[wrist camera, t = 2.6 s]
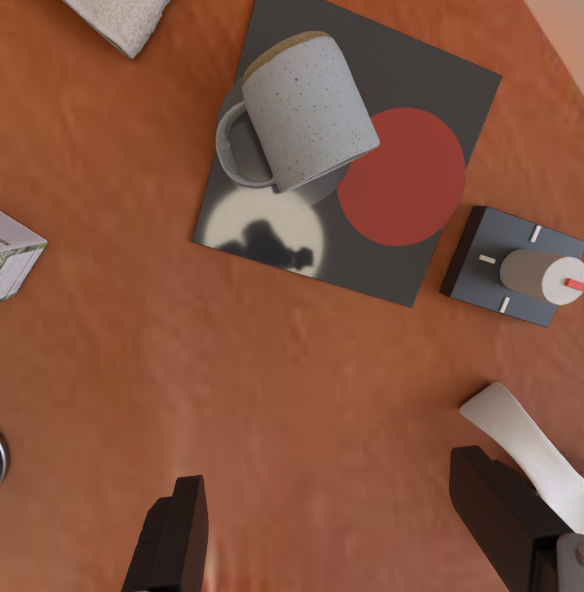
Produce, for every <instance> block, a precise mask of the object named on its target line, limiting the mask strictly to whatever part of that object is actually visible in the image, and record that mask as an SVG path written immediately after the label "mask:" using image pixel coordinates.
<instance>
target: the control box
mask: <svg viewBox="0 0 584 592" xmlns="http://www.w3.org/2000/svg"><path fill="white" fill-rule="evenodd" d="M519 249H528V250H534V251H540V252H546V253H552V254H558V255H564V256H570V257H574V258H577V259H579V260H580V258H581V256H582V253H583V251H584V241H583V240H580V239H577V238H574V237H572V236H569V235H566V234H563V233H561V232H558V231H555V230H552V229H549V228H547V227H544V226H541V225H538V224H535V223H533V222H530V221H527V220H524V219H522V218H519V217H516V216H513V215H510V214H508V213H505V212H502V211H499V210H496V209H494V208H491V207H488V206H474V207H473V209H472V212H471V214H470V217H469V219H468V222H467V224H466V227H465V229H464V232H463V234H462V237H461V239H460V242H459V244H458V247H457V249H456V252H455V254H454V257H453V259H452V262H451V264H450V267H449V269H448V272H447V274H446V277H445V279H444V282H443V284H442V287H441V289H440V293H442V294H444V295H446V296H448V297H450V298H453V299H456V300H460V301H463V302H466V303H469V304H473V305H476V306H479V307H482V308H485V309H489V310H492V311H495V312H498V313H502V314H505V315H508V316H511V317H515V318H518V319H521V320H524V321H527V322H531V323H534V324H537V325H540V326H544V327H547V328H548V326H549V324H550V322H551V320H552V318H553V316H554V314H555V311H556V309H557V307H558V305H556V304H552V303H549V302H546V301H543V300H540V299H537V298H534V297H531V296H528V295H525V294H522V293H519V292H516V291H513V290H510V289H508V288H507V287H506V286H505V285H504V284H503V283H502V281H501V278H500V268H501V265H502V262H503V261H504V259H505V258H506V257H507V256H508V255H509V254H510V253H512V252H513V251H516V250H519Z"/></svg>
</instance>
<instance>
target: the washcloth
mask: <svg viewBox="0 0 584 592" xmlns="http://www.w3.org/2000/svg"><path fill="white" fill-rule="evenodd" d="M62 1H63V2H64V3H66V4H67V5H68V6H69V7H70V8H71V9H73V10H74V11H75V12H76V13H77V14H78V15H79V16H80V17H82V18H83V19H84V21H86V22H87V23H88V24H89V25H90V26H91V27H92V28H94V29H95V30H96V31H97V32H98V33H99V34H100V35H101V36H103V37H104V38H105V39H106V40H107V41H108V42H109V43H110V44H111V45H113V46H114V47H115V48H116V49H118V50H119V51H120V52H121V53H123V54H124V55H125V56H126V57H128V58H129V59H133V58H134V57H135V56H136V55H137V53H139V52H140V51H141V49H142V48H143V46H144V44H145V43H146V42H147V41H148V38H149V37H150V35H151V33H153V32H154V30H155V28H156V26H157V23H158V22H159V20H160V17H162V11H163V10H164V8H165V6H166V5H167V4H168V3H169V2H170V1H171V0H62Z"/></svg>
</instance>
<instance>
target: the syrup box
mask: <svg viewBox="0 0 584 592" xmlns="http://www.w3.org/2000/svg"><path fill="white" fill-rule="evenodd" d="M47 244H48V241H47V240H45V239H44V238H42V237H41V236H39V235H37V234H36V233H34V232H33V231H31V230H30V229H28V228H27V227H25V226H23V225H22V224H20V223H19V222H17V221H15V220H14V219H12V218H11V217H9V216H7V215H6V214H4V213H2V212H1V211H0V302H1V301H4V300H6V299H9V298H11V297H13V296H15V295H16V293H17V292H18V290H19V288H20V287H21V285H22V283H23V282H24V280H25V279H26V277H27V275H28V274H29V272H30V270H31V269H32V267H33V266H34V264H35V263H36V261H37V259H38V258H39V256H40V255H41V253H42V252H43V250H44V249H45V247H46V245H47Z"/></svg>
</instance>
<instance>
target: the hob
mask: <svg viewBox="0 0 584 592" xmlns="http://www.w3.org/2000/svg"><path fill="white" fill-rule="evenodd" d="M307 31H322V32H325V33H328V34H329V35H330V36H331V37H332V38H333V39H334V41H335V42H336V44H337V45H338V47H339V49H340V50H341V52H342V54H343V56H344V58H345V60H346V62H347V65H348V67H349V70H350V72H351V75H352V77H353V80H354V82H355V85H356V87H357V89H358V91H359V93H360V96H361V98H362V100H363V103H364V105H365V108H366V110H367V112H368V115H369V117H370V119H371V122H372V124H373V126H374V129H375V131H376V133H377V136H378V138H379V140H380V145H379V146H378V147H377V148H375V149H374V150H372V151H370V152H369V153H367V154H365V155H363V156H361V157H360V158H357V159H355V160H353V161H351V162H349V163H347V164H345V165H343V166H341V167H339V168H337V169H335V170H333V171H331V172H329V173H327V174H325V175H323V176H321V177H318V178H316V179H313V180H311V181H309V182H307V183H306V184H303V185H301V186H298V187H296V188H294V189H291V190H289V191H286V192H280V191H279V189H278V186H277V184H276V183H275V184H272V185H268V186H263V187H249V186H245V185H242V184H239V183H237V182H235V181H234V180H232V179H231V178H230V177H229V176H228V175H227V174H226V172H225V171H224V169H223V167H222V166H221V163H220V161H219V158H218V155H217V151H216V153H215V156H214V160H213V164H212V168H211V172H210V175H209V179H208V183H207V187H206V190H205V194H204V198H203V202H202V206H201V209H200V213H199V217H198V221H197V225H196V228H195V232H194V236H193V240H192V242H194V243H198V244H201V245H204V246H208V247H211V248H214V249H218V250H221V251H224V252H228V253H231V254H234V255H238V256H241V257H244V258H248V259H251V260H254V261H258V262H261V263H264V264H268V265H271V266H275V267H278V268H281V269H285V270H288V271H291V272H295V273H298V274H301V275H305V276H308V277H311V278H315V279H318V280H321V281H325V282H328V283H331V284H335V285H338V286H341V287H345V288H348V289H351V290H355V291H358V292H361V293H365V294H368V295H371V296H375V297H378V298H381V299H385V300H388V301H391V302H395V303H398V304H402V305H405V306H408V307H413V304H414V302H415V299H416V297H417V294H418V292H419V289H420V287H421V284H422V281H423V279H424V276H425V274H426V271H427V269H428V266H429V263H430V261H431V258H432V256H433V253H434V251H435V248H436V245H437V243H438V240H439V238H440V235H441V233H442V230H443V227H444V225H445V224H446V223H447V221H448V220H449V219H450V218H451V216H452V215H453V213H454V212H455V210H456V208H457V206H458V204H459V202H460V199H461V196H462V193H463V189H464V184H465V171H466V168H467V166H468V163H469V161H470V158H471V155H472V153H473V150H474V148H475V145H476V143H477V140H478V138H479V135H480V132H481V130H482V127H483V125H484V122H485V120H486V117H487V114H488V112H489V109H490V107H491V104H492V102H493V99H494V96H495V94H496V91H497V89H498V86H499V84H500V81H501V78H502V75H499V74H497V73H495V72H492V71H490V70H487V69H485V68H483V67H480V66H478V65H476V64H473V63H471V62H469V61H466V60H464V59H462V58H459V57H457V56H455V55H452V54H450V53H448V52H445V51H443V50H440V49H438V48H436V47H433V46H431V45H429V44H426V43H424V42H422V41H419V40H417V39H415V38H412V37H410V36H408V35H405V34H403V33H401V32H398V31H396V30H393V29H391V28H389V27H386V26H384V25H382V24H379V23H377V22H375V21H372V20H370V19H368V18H365V17H363V16H361V15H358V14H356V13H354V12H351V11H349V10H346V9H344V8H342V7H339V6H337V5H335V4H332V3H330V2H328V1H325V0H256V1H255V5H254V8H253V12H252V16H251V20H250V24H249V27H248V31H247V35H246V39H245V43H244V46H243V50H242V54H241V58H240V62H239V65H238V69H237V73H236V77H235V81H234V84H233V86H232V87H231V89H230V90H229V92H228V93H227V95H226V97H225V99H224V101H223V103H222V105H221V108H220V111H219V115H218V120H217V127H216V132H217V129H218V125H219V123H220V121H221V119H222V118H223V116H224V115H225V114H226V112H228V111H229V110H230V109H231V108H232V107H233V106H235V105H236V104H238V103H240V102H242V101H243V100H244V98H243V93H242V88H241V83H242V80H243V77H244V74H245V72H246V70H247V69H248V67H249V66H250V65H251V64H252V62H254V61H255V60H256V59H257V58H258V57H259V56H260V55H262V54H263V53H264V52H266V51H267V50H269V49H270V48H272V47H273V46H275V45H276V44H278V43H280V42H282V41H283V40H285V39H287V38H289V37H292V36H294V35H297V34H300V33H303V32H307ZM228 140H229V141H230V143H231V151H232V155H233V157H234V160H235V163H236V165H237V168H238V170H239V172H241V174H242V175H243V176H244V177H246V178H248V179H251V180H258V181H261V180H268V179H272V177H273V174H272V171H271V168H270V166H269V163H268V161H267V159H266V156H265V153H264V151H263V148H262V145H261V142H260V140H259V137H258V135H257V133H256V130H255V128H254V126H253V124H252V121H251V119H250V117H249V114H248V112H247V110H246V111H244V112H243V113H242V114H241V115H240V116H238V117H237V119H236V120H235V121H234V122H233V124H232V125H231V128H230V131H229V133H228Z"/></svg>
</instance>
